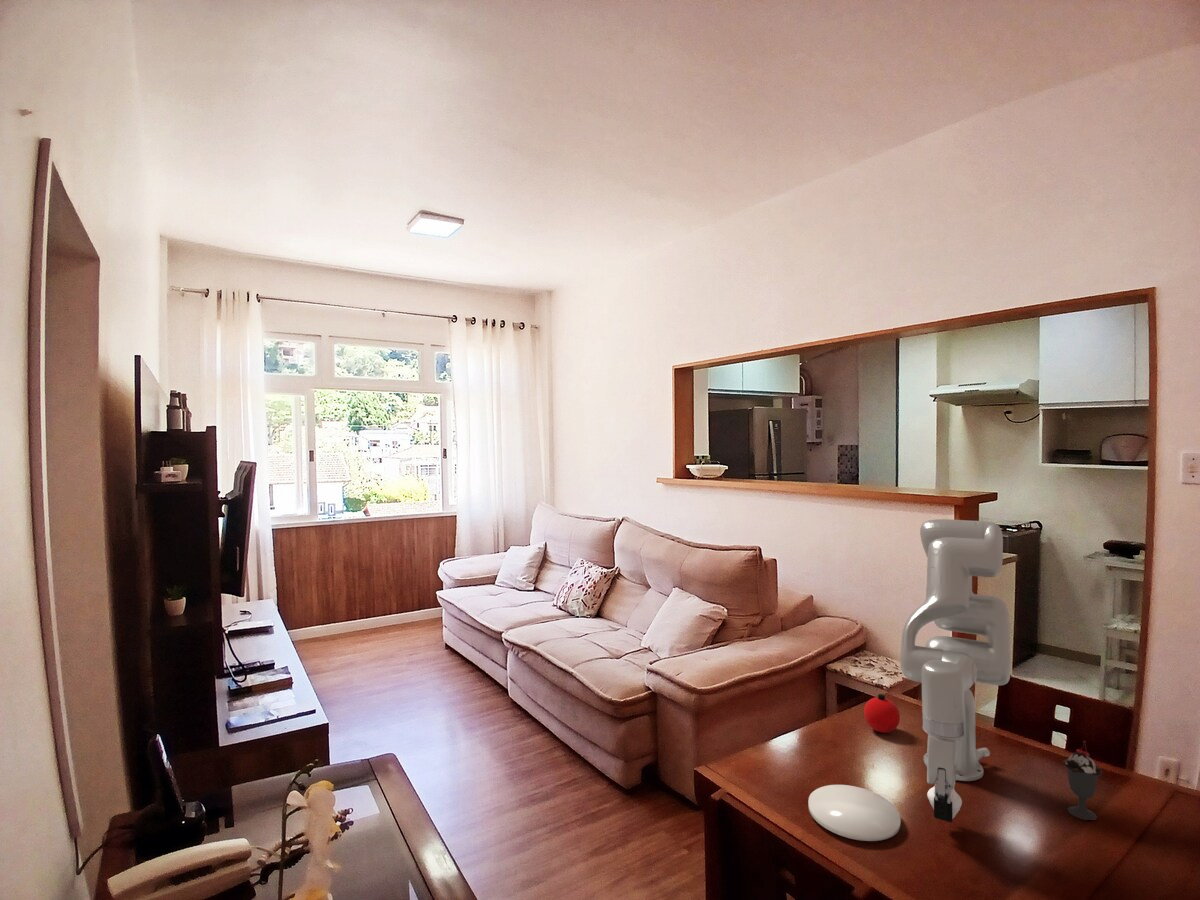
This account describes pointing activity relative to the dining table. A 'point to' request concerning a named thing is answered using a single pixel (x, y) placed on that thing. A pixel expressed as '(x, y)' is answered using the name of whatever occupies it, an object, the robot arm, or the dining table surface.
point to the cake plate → (854, 812)
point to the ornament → (881, 714)
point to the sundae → (1082, 781)
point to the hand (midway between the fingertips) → (944, 809)
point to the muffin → (954, 799)
